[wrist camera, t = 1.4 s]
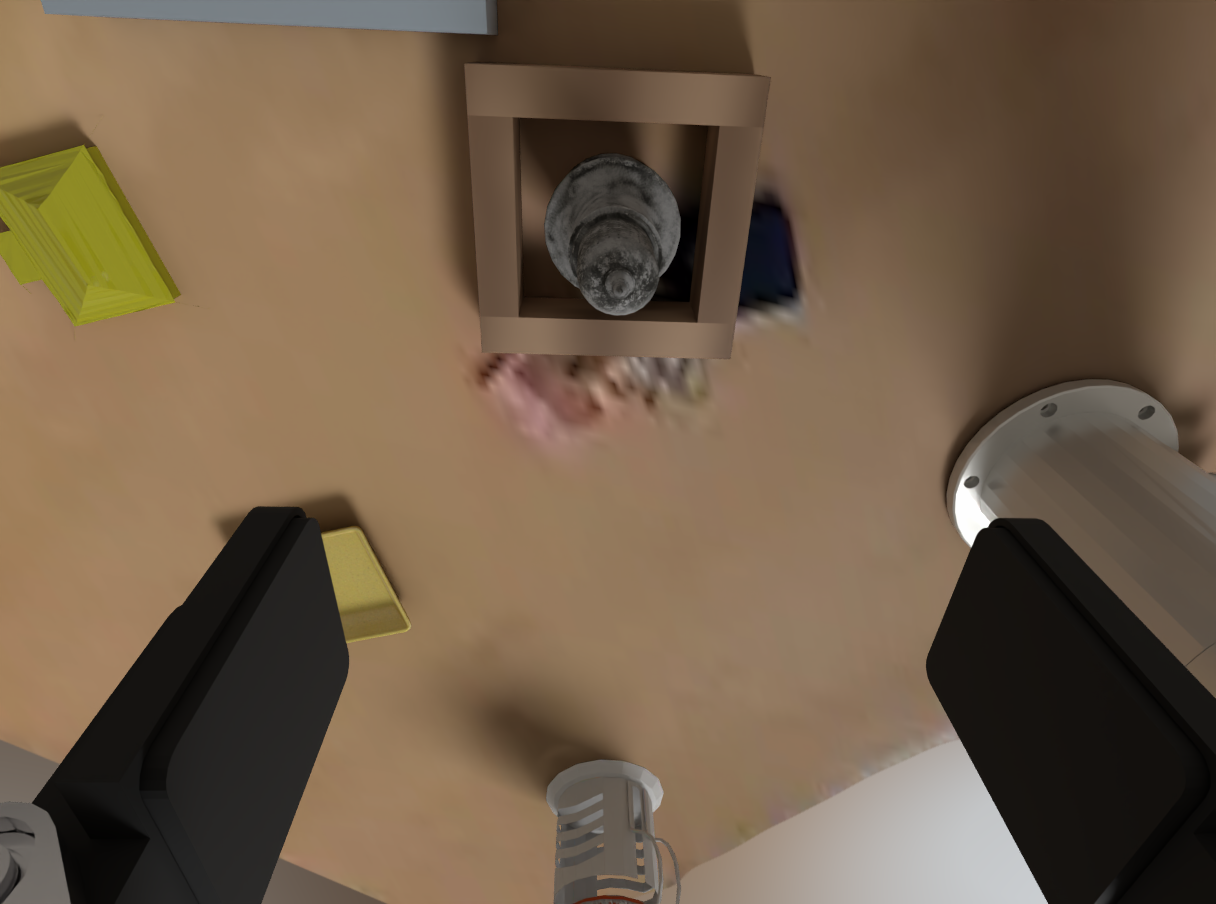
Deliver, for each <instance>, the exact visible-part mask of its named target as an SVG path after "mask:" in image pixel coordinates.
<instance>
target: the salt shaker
mask: <svg viewBox="0 0 1216 904" xmlns="http://www.w3.org/2000/svg"><path fill="white" fill-rule="evenodd" d="M680 222H681V218H680V214H679V210H678V206H677V202H676V199H675V198H674V196H673V194H672V192H671V190H670V189H669V187H668V185H667V183H666V182H665V181H664V180H663V179H662V178H661V177H660V176H659V175H658V174H657V173H656V172H655V171H654V170H652V169H650V168H649V167H647V166H645V165H644V164H642V163H641V162H639V161H637V160H635V159H634V158H632V157H630V156H625V155H621V154H617V153H609V154H599V155H596V156H593V157H590V158H587V159H585V160H584V161H582V162H581V163H580V164H578V165H577V166H575V167H574V168H573V169H572V170H571V171H570V173H569V174H567V176H566V177H565V178H564V179H563V180H562V182H561V183H560V184H559V185H558V186H557V188H556V189H555V191H554V193H553V195H552V197H551V199H550V202H549V204H548V206H547V211H546V217H545V223H544V228H545V240H546V245H547V248H548V251H549V254H550V256H551V259H552V261H553V263H554V264H555V266H556V267H557V269H558V270H559V271H560V273H561V274H562V275H563V276H564V277H565V278H566V279H567V280H568V281H569V282H571V283H572V284H573V285H574V286H575V287H577V288H579V289H580V290H581V293H582V294H583V295H584V297H585V298H586V300H587V301H588V302H589V303H590V304H591V305H592V306H593V307H595V308H596V309H597V310H599V311H601V312H604V313H606V314H611V315H627V314H630V313H634V312H636V311H638V310H639V309H641V308H643V307H644V306H645V305H646V304H647V303H648V302H649V301H650V300H651V298H652V297H653V295H654V293H655V291H656V289H657V285H658V282H659V277H660V276H661V275H662V274H663V273H664V272H665V271H666V270H667V268H668V267H669V265H670V263H671V261H672V260H673V258H674V256H675V254H676V251H677V247H678V243H679V240H680Z"/></svg>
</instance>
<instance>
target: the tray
mask: <svg viewBox="0 0 1216 904" xmlns="http://www.w3.org/2000/svg"><path fill="white" fill-rule="evenodd" d="M41 2H42V5H43V9H44V12H45V14H60V15H77V16H94V17H112V18H134V19H156V20H177V21H199V22H220V23H242V24H264V25H285V26H307V27H328V28H350V29H372V30H393V31H415V32H436V33H458V34H479V35H498V21H497V0H41Z"/></svg>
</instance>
